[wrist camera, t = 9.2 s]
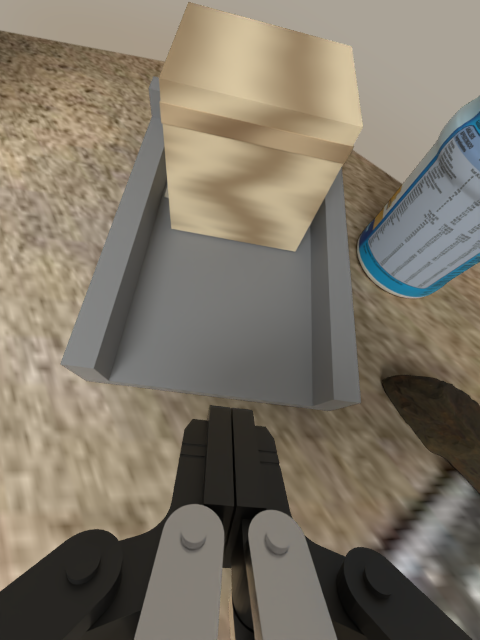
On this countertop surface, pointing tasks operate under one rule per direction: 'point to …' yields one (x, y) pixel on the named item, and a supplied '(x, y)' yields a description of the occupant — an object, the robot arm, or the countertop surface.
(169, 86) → the wooden cube box
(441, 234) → the beverage bottle
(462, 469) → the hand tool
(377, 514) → the countertop surface
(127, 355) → the bay
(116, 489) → the countertop surface
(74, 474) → the countertop surface
